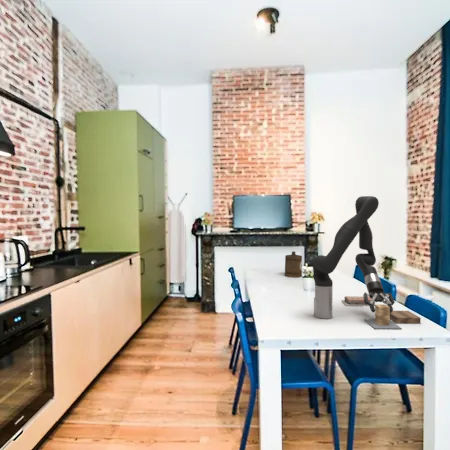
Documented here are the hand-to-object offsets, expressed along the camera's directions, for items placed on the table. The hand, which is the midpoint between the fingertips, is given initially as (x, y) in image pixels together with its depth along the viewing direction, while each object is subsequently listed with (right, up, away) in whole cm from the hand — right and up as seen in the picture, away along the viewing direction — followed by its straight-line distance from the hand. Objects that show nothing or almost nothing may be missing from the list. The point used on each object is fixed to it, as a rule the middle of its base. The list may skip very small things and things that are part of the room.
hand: (382, 311), depth 165 cm
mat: (0, -7, +1) cm, 7 cm away
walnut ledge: (+14, -6, +8) cm, 18 cm away
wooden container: (-18, -2, +128) cm, 130 cm away
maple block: (0, -6, +1) cm, 6 cm away
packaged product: (+3, -6, +38) cm, 39 cm away
